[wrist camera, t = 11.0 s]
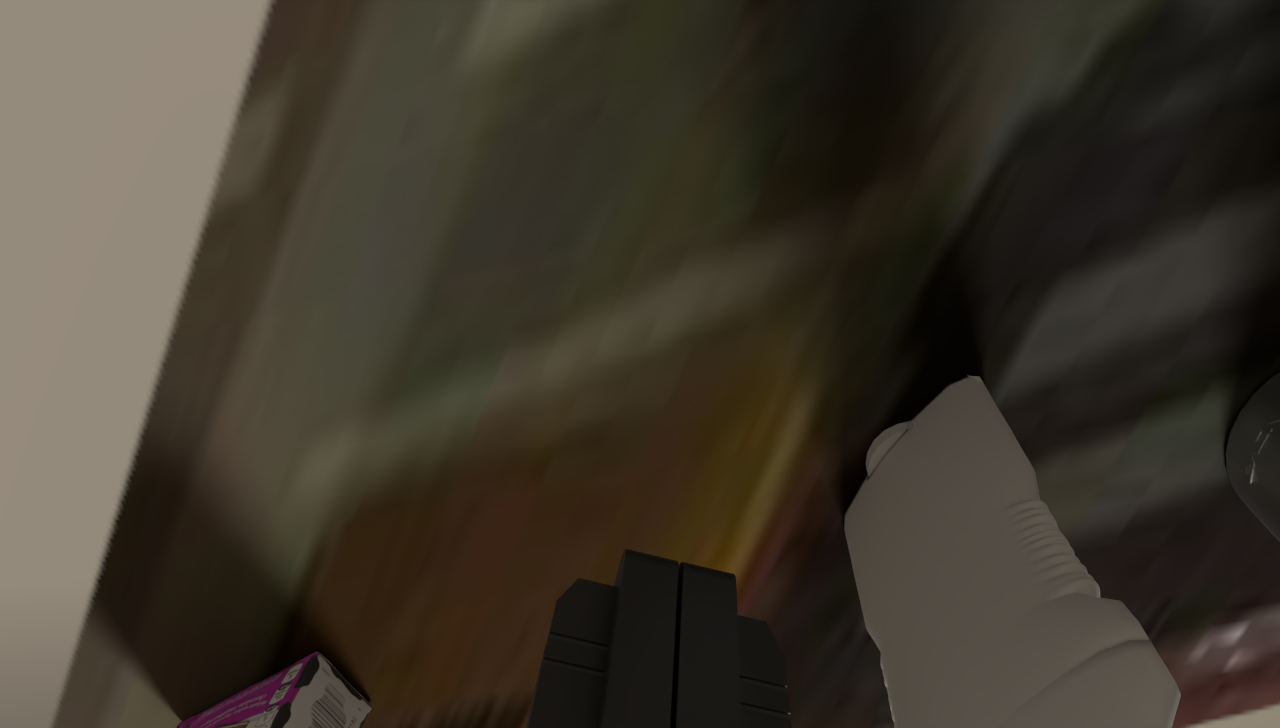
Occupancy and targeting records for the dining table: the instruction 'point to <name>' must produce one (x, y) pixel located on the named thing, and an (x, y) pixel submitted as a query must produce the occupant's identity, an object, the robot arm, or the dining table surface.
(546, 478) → the dining table surface
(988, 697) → the tall pale column
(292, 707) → the candy bar box
